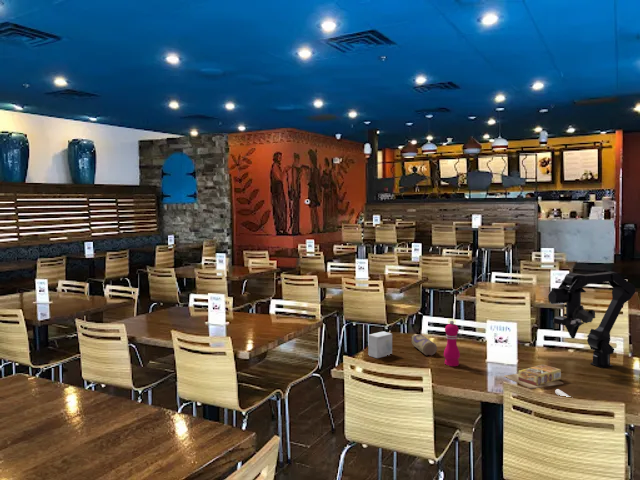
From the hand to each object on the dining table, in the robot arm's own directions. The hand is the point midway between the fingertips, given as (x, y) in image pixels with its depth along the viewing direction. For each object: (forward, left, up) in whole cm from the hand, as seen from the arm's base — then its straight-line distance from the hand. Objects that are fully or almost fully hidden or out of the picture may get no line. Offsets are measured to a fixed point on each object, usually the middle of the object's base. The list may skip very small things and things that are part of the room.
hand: (572, 338), depth 233 cm
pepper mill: (+46, -23, -13) cm, 53 cm away
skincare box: (+70, -48, -13) cm, 86 cm away
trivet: (+27, +7, -13) cm, 31 cm away
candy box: (+17, +7, -10) cm, 22 cm away
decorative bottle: (+45, -50, -13) cm, 69 cm away
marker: (+31, +32, -14) cm, 47 cm away
